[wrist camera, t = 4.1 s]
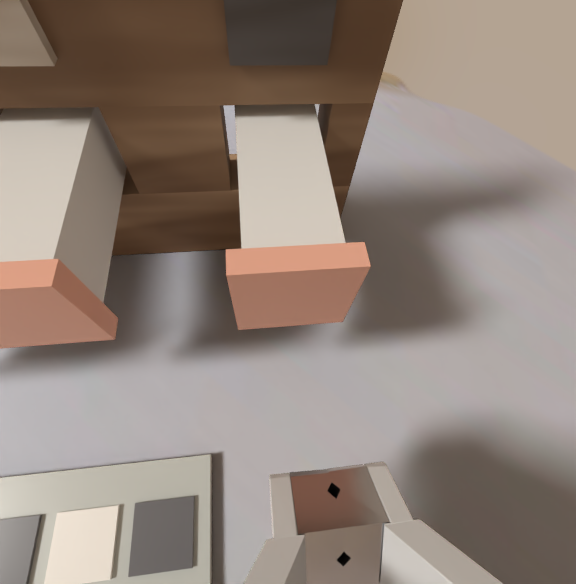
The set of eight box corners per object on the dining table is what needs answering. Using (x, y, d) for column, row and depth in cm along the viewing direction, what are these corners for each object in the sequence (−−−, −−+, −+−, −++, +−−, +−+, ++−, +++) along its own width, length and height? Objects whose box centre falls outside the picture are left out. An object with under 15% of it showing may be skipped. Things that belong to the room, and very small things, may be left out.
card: (211, 611, 12) (209, 617, 11) (-68, 655, 11) (-84, 663, 10) (211, 454, 14) (209, 454, 14) (-19, 480, 13) (-30, 480, 13)
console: (334, 248, 19) (450, -140, 7) (-102, 273, 17) (-1051, -224, 5) (318, 170, 22) (380, -201, 10) (-56, 183, 20) (-572, -270, 8)
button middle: (115, 339, 11) (51, 286, 8) (-4, 348, 11) (-123, 296, 8) (141, 160, 15) (105, 75, 12) (54, 163, 15) (-7, 76, 12)
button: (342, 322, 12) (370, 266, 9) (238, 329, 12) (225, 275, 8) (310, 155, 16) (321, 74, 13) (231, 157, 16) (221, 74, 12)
